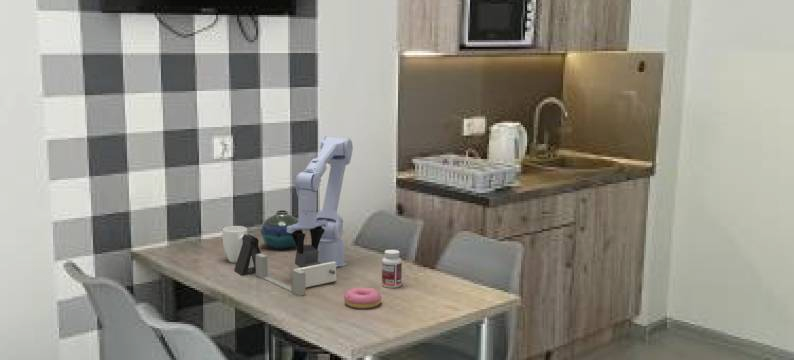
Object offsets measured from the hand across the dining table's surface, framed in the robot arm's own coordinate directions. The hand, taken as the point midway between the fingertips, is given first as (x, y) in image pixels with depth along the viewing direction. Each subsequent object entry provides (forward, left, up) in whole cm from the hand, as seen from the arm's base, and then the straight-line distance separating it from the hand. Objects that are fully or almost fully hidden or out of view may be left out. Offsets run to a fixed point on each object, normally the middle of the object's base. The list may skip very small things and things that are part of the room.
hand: (307, 251), depth 257 cm
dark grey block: (0, 0, -5) cm, 5 cm away
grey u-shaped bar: (+11, +1, -9) cm, 14 cm away
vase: (-14, -38, -9) cm, 42 cm away
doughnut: (+1, +30, -9) cm, 32 cm away
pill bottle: (-17, +22, -9) cm, 29 cm away
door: (+2, +9, -8) cm, 13 cm away
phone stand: (+11, -17, -9) cm, 22 cm away
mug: (+9, -29, -9) cm, 32 cm away
